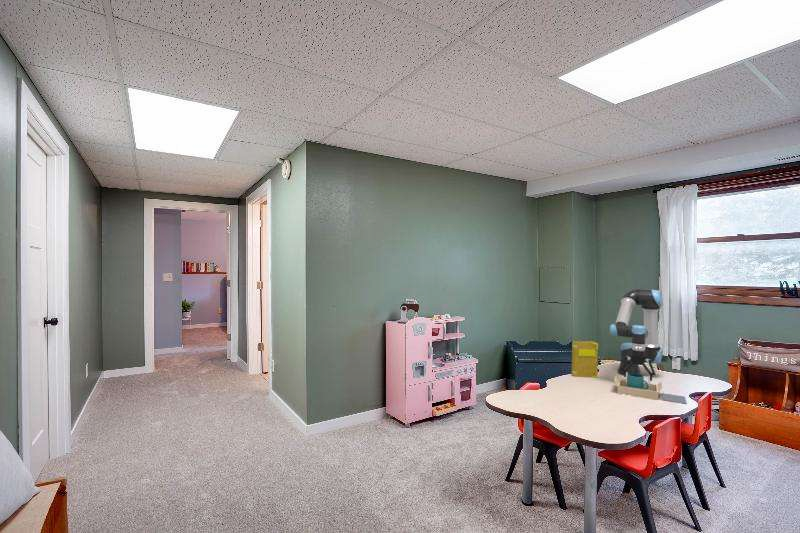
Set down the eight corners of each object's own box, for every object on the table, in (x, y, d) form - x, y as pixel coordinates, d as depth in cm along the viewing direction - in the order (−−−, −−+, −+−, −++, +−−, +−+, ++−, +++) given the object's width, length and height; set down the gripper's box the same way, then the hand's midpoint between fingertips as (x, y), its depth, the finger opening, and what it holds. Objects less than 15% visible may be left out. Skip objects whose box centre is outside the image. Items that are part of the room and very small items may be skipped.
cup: (646, 397, 248) (646, 379, 248) (625, 392, 256) (625, 374, 256) (650, 393, 254) (650, 376, 254) (629, 389, 263) (630, 372, 263)
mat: (661, 393, 255) (661, 393, 255) (684, 397, 248) (684, 396, 248) (662, 400, 242) (662, 399, 242) (686, 404, 236) (686, 403, 236)
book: (594, 375, 296) (594, 341, 296) (597, 377, 290) (598, 343, 290) (570, 374, 298) (570, 340, 298) (573, 376, 291) (573, 342, 291)
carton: (615, 386, 270) (615, 374, 269) (661, 393, 256) (661, 380, 256) (613, 393, 255) (614, 380, 255) (662, 400, 241) (662, 387, 241)
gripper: (616, 348, 258) (616, 382, 258) (660, 353, 246) (660, 388, 246) (617, 346, 265) (616, 379, 265) (660, 351, 252) (659, 385, 252)
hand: (637, 384), depth 255 cm, fingers closed on cup, 12 cm apart
